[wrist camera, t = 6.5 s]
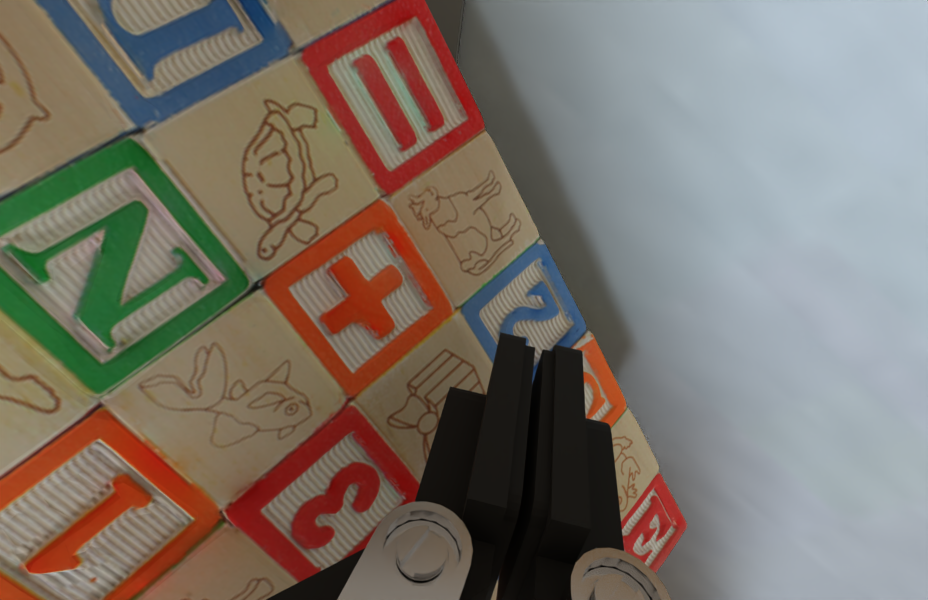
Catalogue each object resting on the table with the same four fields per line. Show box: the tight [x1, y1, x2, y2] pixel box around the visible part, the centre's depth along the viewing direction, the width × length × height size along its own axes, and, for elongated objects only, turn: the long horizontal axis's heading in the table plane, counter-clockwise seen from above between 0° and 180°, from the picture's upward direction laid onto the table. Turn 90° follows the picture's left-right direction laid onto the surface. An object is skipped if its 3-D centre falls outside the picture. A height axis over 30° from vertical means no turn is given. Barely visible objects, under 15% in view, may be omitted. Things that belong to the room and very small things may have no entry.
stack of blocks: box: [0, 0, 688, 600], centre depth 13 cm, size 21×6×12 cm
